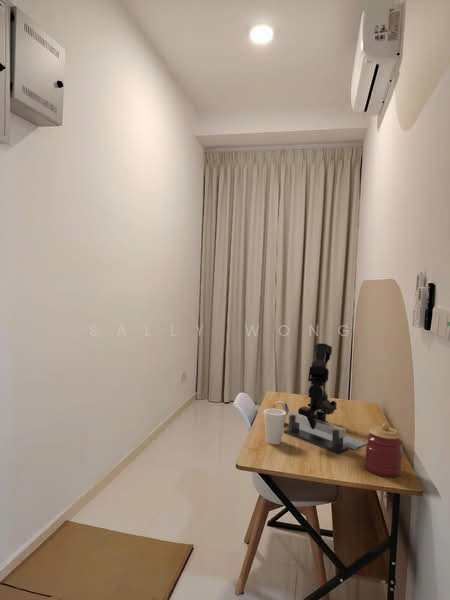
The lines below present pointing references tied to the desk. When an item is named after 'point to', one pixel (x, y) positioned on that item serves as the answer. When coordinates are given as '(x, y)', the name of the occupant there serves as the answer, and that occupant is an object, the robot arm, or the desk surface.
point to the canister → (384, 451)
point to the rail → (318, 425)
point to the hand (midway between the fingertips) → (315, 428)
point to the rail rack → (316, 438)
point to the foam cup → (274, 425)
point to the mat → (347, 441)
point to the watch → (283, 406)
